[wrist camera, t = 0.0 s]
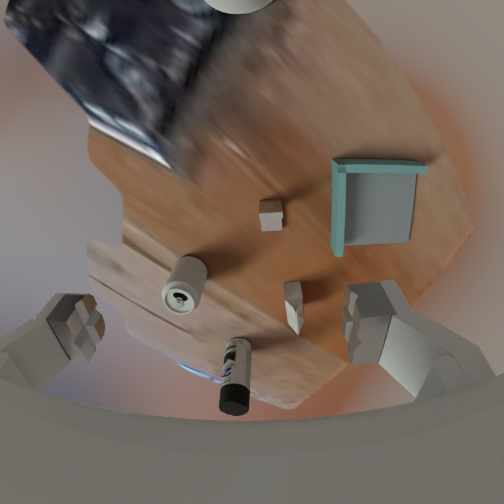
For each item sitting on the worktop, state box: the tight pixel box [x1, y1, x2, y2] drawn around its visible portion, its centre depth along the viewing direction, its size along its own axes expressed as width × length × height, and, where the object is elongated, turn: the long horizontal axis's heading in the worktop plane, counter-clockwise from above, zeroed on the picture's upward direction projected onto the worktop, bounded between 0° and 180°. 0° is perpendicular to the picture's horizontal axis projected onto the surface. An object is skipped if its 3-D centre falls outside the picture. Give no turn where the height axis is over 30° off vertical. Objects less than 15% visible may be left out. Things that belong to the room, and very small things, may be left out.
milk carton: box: [283, 281, 305, 335], centre depth 63 cm, size 4×7×10 cm, turn 10°
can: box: [162, 256, 207, 315], centre depth 60 cm, size 8×8×12 cm
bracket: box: [259, 199, 283, 231], centre depth 55 cm, size 6×4×7 cm, turn 5°
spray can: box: [219, 338, 251, 416], centre depth 67 cm, size 7×7×20 cm
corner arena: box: [331, 159, 427, 257], centre depth 54 cm, size 18×18×5 cm
